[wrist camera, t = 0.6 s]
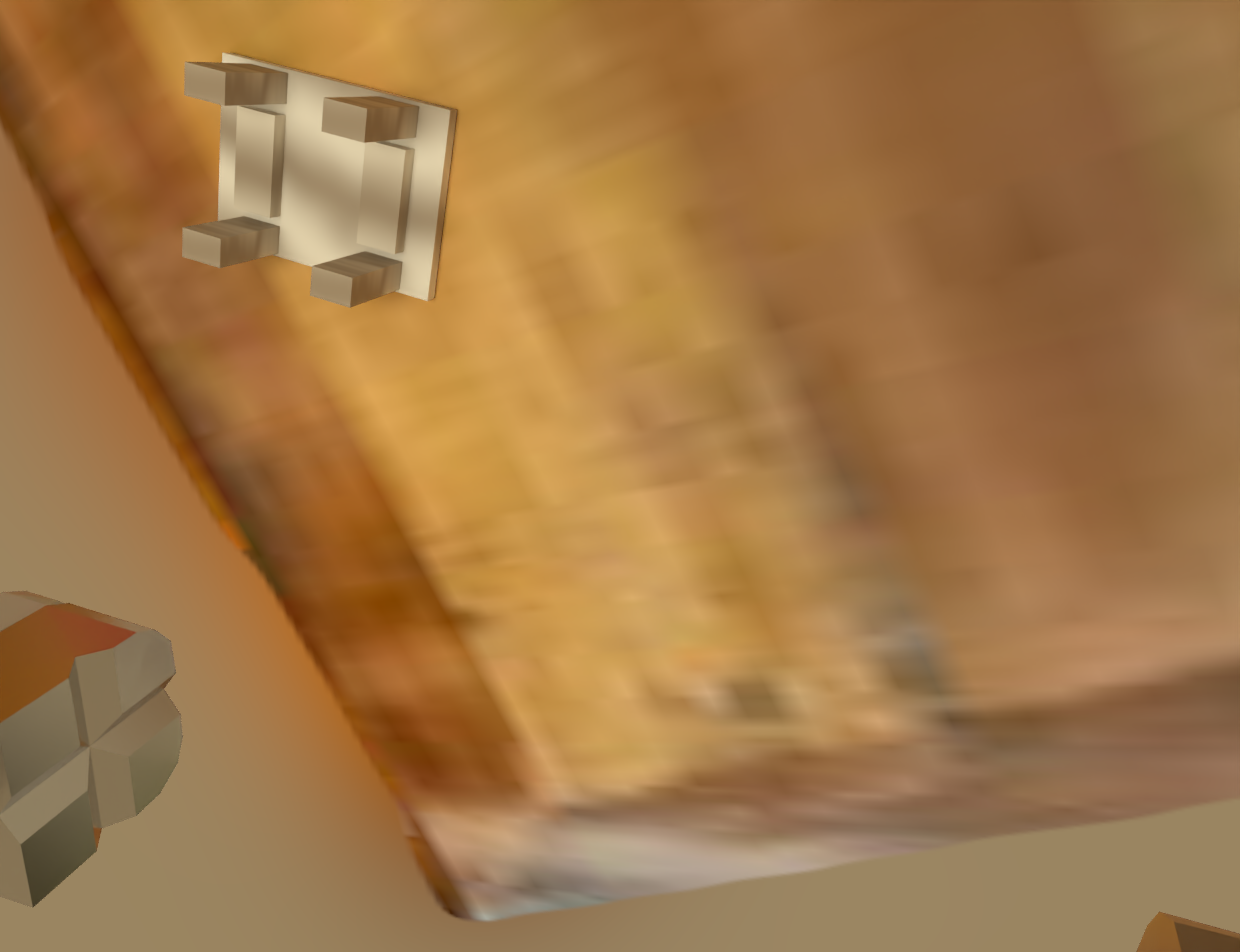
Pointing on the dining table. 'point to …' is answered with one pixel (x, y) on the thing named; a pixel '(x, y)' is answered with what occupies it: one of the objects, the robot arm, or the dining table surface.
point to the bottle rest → (325, 179)
